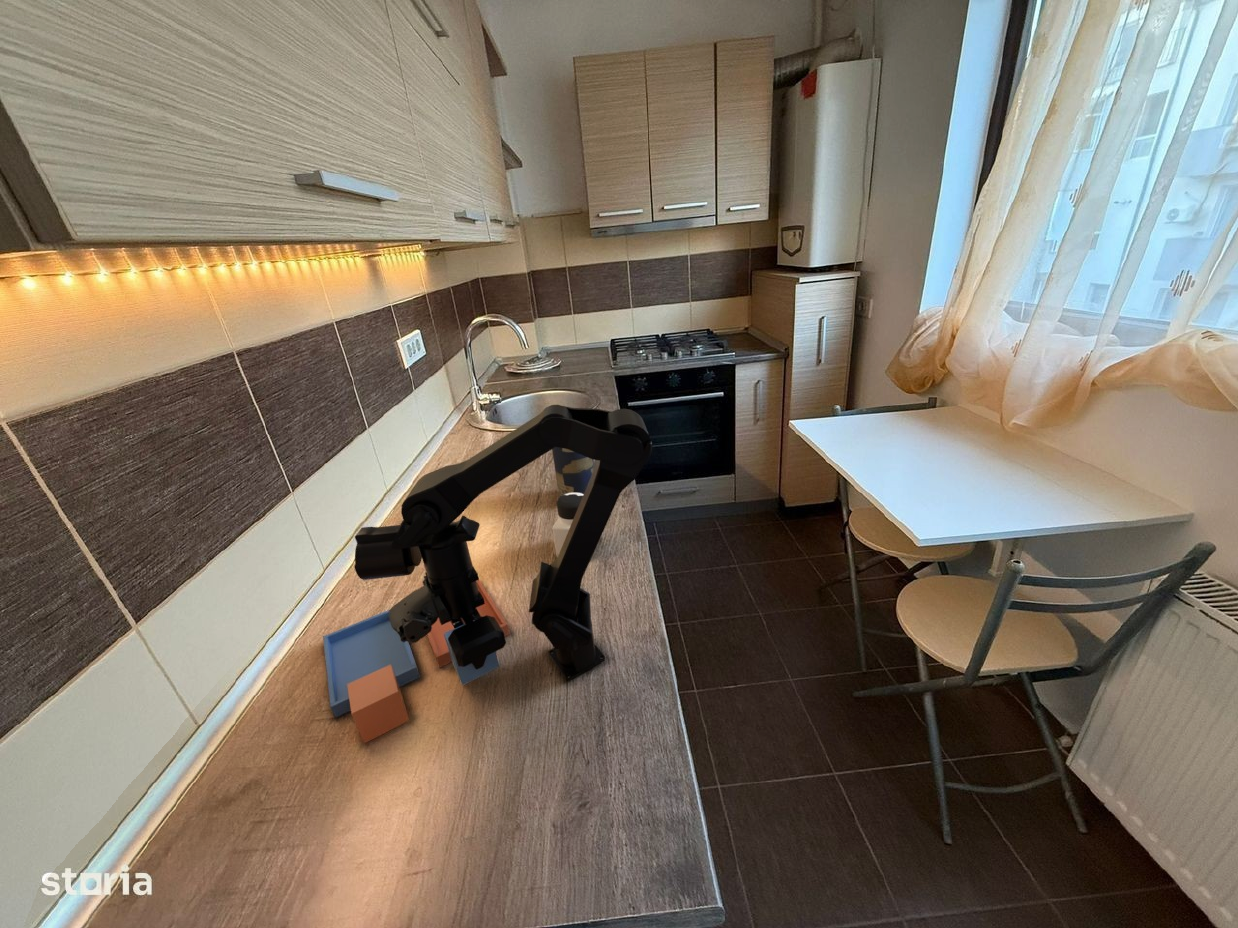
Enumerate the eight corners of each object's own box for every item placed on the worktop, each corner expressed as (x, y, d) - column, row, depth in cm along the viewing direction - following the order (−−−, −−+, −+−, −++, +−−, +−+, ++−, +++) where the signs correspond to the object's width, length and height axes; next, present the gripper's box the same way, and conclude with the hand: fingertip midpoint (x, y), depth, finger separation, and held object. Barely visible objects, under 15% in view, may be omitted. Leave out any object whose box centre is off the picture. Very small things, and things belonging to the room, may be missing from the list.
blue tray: (420, 677, 70) (416, 666, 69) (335, 717, 65) (330, 707, 64) (399, 616, 83) (396, 606, 82) (327, 645, 77) (322, 636, 76)
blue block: (499, 666, 69) (491, 636, 67) (462, 685, 66) (452, 654, 64) (488, 646, 73) (480, 616, 72) (452, 663, 71) (443, 633, 69)
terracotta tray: (509, 634, 77) (507, 624, 76) (439, 667, 71) (436, 657, 70) (478, 583, 89) (475, 574, 88) (416, 609, 84) (413, 599, 83)
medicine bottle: (590, 560, 93) (584, 506, 88) (556, 558, 95) (548, 505, 90) (599, 539, 100) (593, 489, 95) (566, 538, 101) (559, 488, 96)
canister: (597, 486, 122) (590, 420, 115) (597, 504, 114) (590, 434, 106) (560, 489, 122) (551, 423, 115) (557, 507, 114) (547, 437, 106)
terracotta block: (409, 720, 64) (398, 691, 61) (364, 743, 61) (351, 713, 59) (401, 692, 68) (390, 664, 66) (359, 712, 65) (346, 684, 63)
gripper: (373, 557, 66) (402, 641, 73) (398, 636, 52) (432, 732, 58) (453, 529, 72) (474, 610, 78) (495, 593, 57) (517, 686, 64)
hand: (473, 654), depth 69 cm, fingers closed on blue block, 5 cm apart
